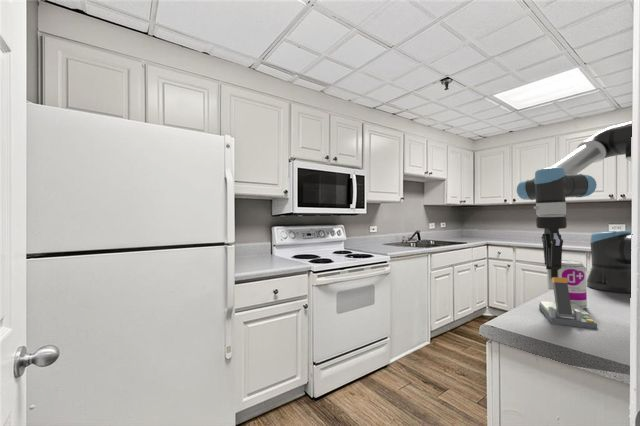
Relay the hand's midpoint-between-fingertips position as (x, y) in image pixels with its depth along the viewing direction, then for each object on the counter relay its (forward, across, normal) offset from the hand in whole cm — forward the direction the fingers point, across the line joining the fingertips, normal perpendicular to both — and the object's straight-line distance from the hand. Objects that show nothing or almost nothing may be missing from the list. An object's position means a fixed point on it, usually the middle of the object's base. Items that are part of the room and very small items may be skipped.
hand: (553, 289), depth 91 cm
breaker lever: (+5, +9, 0) cm, 10 cm away
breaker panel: (+8, +4, +2) cm, 9 cm away
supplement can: (+8, -9, +7) cm, 14 cm away
